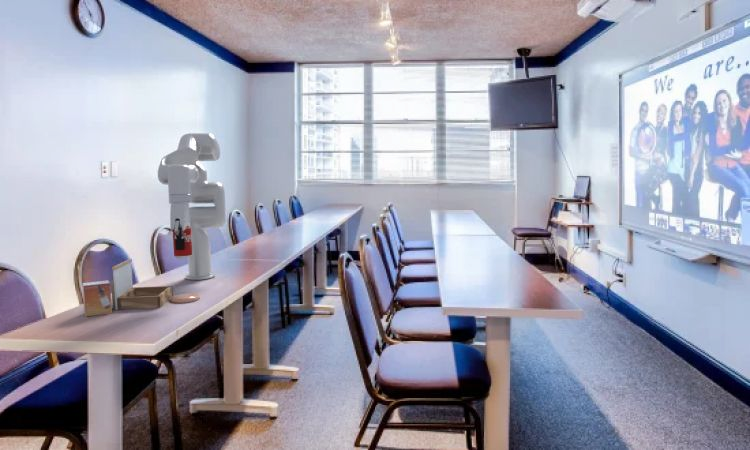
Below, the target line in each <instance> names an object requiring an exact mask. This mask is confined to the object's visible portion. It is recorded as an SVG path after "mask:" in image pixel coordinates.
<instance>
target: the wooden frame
mask: <svg viewBox="0 0 750 450" xmlns="http://www.w3.org/2000/svg"><path fill="white" fill-rule="evenodd" d="M173 290H174V289H173V285H168V286H167V285H165V286H164V285H162V286H141V287H140V286H139V287H138V286H135V287H133V288H132V289H131V290H129V291H127V292H126V293H124V294H123V295H121V296H120V297H118V309H117V310H134V309H135V310H136V309H154V308H155V309H156V308H158V309H159V308H160V309H161V308H162V307H164V305H166V303H167V302H169V301H170V300H171V297H173V296H174V293H173V292H174V291H173Z"/></svg>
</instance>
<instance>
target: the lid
mask: <svg viewBox="0 0 750 450" xmlns="http://www.w3.org/2000/svg"><path fill="white" fill-rule="evenodd" d="M132 262H133V259H132V258H128V259H126V260H124V261H122V262H120V263H118V264H116V265H114V266H112V267H111V271H112V275H113V278H112V280H111V281H110V290H111V306H112V310H119V309H118V297H120V296H121V295H123V294H124V293H126V292H127V291H129V290H131V289H132V288H134V287H133V286H134V285H133V271H132V270H133V268H132Z"/></svg>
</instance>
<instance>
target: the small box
mask: <svg viewBox="0 0 750 450" xmlns="http://www.w3.org/2000/svg"><path fill="white" fill-rule="evenodd" d="M82 298H83V312H84V317H92V316H99V315H101V316H102V315H109V314H113V312H112V311H113V306H112V291H111V281H109V279H108V280H107V279H106V280H99V281H91V282H82Z"/></svg>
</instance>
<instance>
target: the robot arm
mask: <svg viewBox="0 0 750 450" xmlns="http://www.w3.org/2000/svg"><path fill="white" fill-rule="evenodd" d="M220 157H221V147H220V145H219V142H218V140H217V138H216V137H215V135H213V134H212V133H207V132H205V133H204V132H203V133H199V132H195V133H193V132H192V133H191V132H190V133H186V134H183V135H182V136H181V137H180V139H179V143H178V146H177V149H176V150H173V152H170V153H168V154H167V155H165V156H163V157H162V158H161V160H160V162H159V165H158V169H157V178H158V181H159V182H160V183H161V184H162V185H165V186H167V189H168V204H170V209H169V210H170V215H169V217H170V219H169V220H170V222H169V223H170V231H171V232H173V231H175V248H176V250H185V239H184V230H186V228H187V225H189V227H190V228H191V237H192V255H191V257H190V258H187V261H188V273H187V274H186V275H185V276H184V277H185V279H186V280H190V281H201V280H208V279H212V278H215V276H216V273H215V272H213V271H212V258H211V257H212V255H211V238H210V235H209V234H208V233H207V231H206V230H205V229H211V228H213V229H214V228H215V229H217V228H223V227H224V226H225V224H226V220H227V219H226V217H227V215H226V192H225V187H224V185H223V184H222V182H218V181H214V182H213V181H208V173H207V170H206V168H205V167H204V165H202V164H201V163H200V162H216V161H218V160H219V159H220ZM190 204H194V205H195V204H196V205H198V204H199V205H200V204H201V205H202V204H204V206H192V207H191V206H190ZM206 204H211V205H214V206H209V205H208V206H205V205H206ZM174 228H175V229H174ZM179 229H182V230H179ZM181 232H182V233H181Z"/></svg>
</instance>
